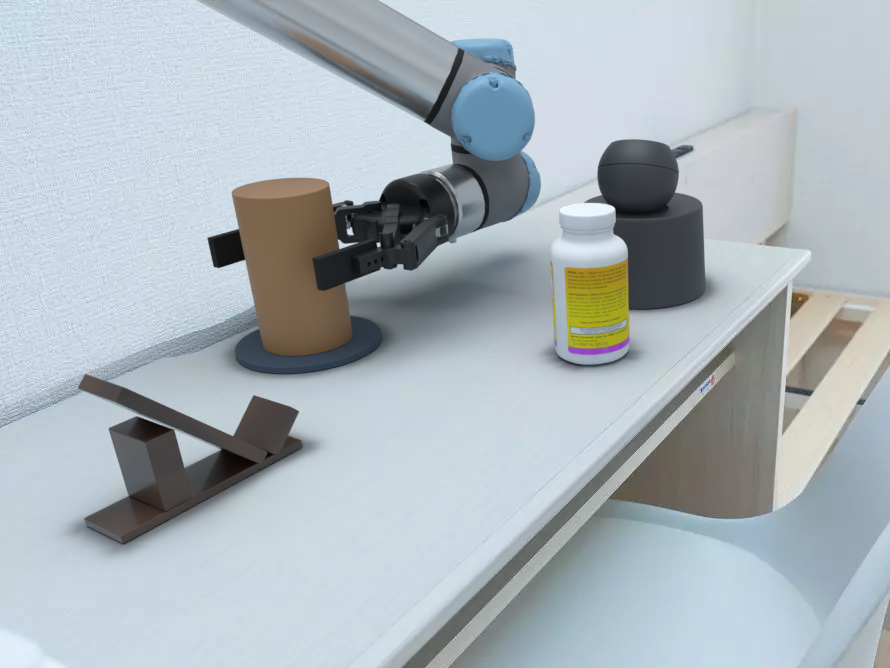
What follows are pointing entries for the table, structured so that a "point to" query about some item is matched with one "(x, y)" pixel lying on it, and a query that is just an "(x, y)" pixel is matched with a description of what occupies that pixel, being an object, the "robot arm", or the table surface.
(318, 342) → the paper roll
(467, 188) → the robot arm
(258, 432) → the roll stand
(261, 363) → the mat
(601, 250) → the supplement bottle
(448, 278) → the table surface
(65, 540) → the table surface
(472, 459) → the table surface
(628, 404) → the table surface
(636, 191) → the gray pot with base
